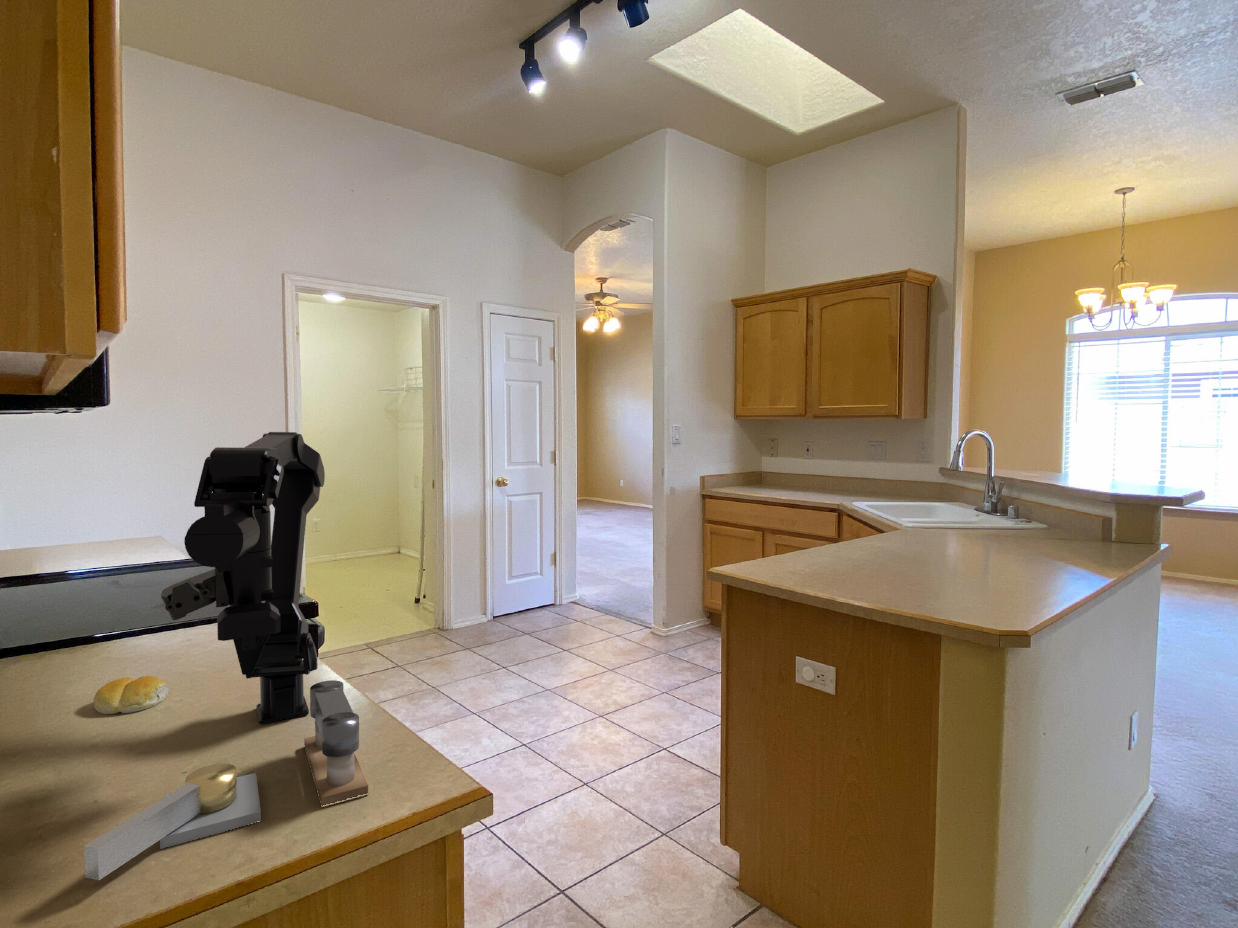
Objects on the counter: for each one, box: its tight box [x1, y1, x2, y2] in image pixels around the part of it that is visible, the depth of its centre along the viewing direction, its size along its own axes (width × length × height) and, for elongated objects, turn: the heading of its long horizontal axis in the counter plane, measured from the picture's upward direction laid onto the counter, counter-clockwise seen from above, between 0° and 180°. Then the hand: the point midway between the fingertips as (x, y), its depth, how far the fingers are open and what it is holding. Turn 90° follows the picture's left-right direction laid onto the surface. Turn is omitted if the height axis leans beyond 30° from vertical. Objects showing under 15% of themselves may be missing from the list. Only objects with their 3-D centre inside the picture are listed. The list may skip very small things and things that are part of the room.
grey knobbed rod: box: [309, 679, 360, 757], centre depth 82 cm, size 15×4×4 cm, turn 32°
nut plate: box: [159, 772, 262, 850], centre depth 73 cm, size 9×9×1 cm
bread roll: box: [93, 675, 170, 715], centre depth 100 cm, size 8×9×4 cm
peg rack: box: [303, 719, 369, 806], centre depth 82 cm, size 16×5×5 cm, turn 32°
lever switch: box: [83, 762, 238, 881], centre depth 68 cm, size 15×5×3 cm, turn 166°
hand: (247, 673), depth 82 cm, fingers closed
